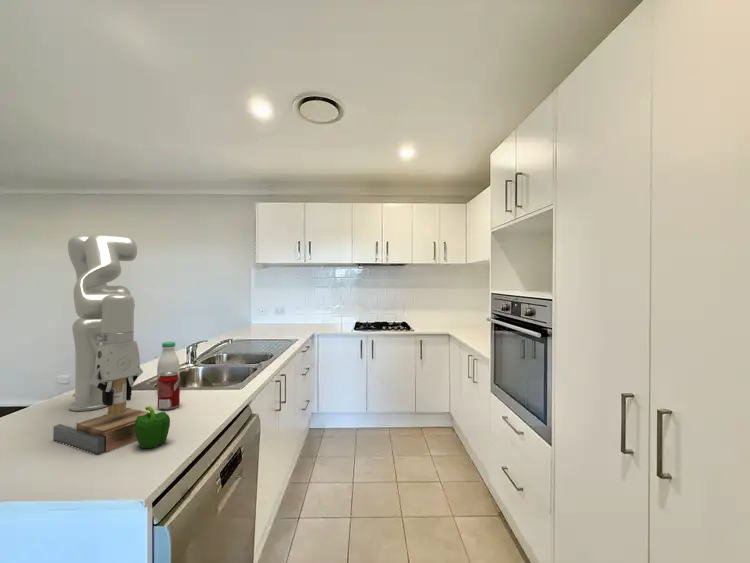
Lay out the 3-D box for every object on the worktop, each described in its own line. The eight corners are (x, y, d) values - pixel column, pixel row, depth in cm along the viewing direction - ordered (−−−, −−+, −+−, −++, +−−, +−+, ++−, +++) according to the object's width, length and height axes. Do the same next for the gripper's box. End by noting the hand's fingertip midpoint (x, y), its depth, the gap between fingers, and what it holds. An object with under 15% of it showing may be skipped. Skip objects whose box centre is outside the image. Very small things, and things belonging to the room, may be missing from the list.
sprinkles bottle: (103, 416, 104) (104, 368, 104) (112, 411, 108) (112, 364, 108) (122, 415, 104) (122, 367, 104) (129, 410, 109) (130, 364, 109)
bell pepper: (173, 445, 101) (173, 408, 101) (137, 454, 96) (138, 415, 96) (165, 435, 108) (166, 400, 108) (131, 443, 102) (132, 406, 102)
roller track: (53, 440, 103) (53, 422, 103) (120, 419, 120) (120, 403, 120) (98, 455, 95) (98, 435, 95) (163, 429, 111) (163, 413, 111)
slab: (76, 432, 102) (76, 423, 102) (128, 415, 115) (128, 408, 115) (103, 440, 97) (103, 431, 97) (154, 422, 110) (154, 413, 110)
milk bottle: (183, 391, 151) (184, 341, 151) (167, 396, 143) (167, 344, 143) (169, 389, 153) (169, 340, 153) (152, 394, 146) (152, 343, 146)
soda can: (169, 411, 127) (170, 376, 127) (152, 410, 128) (153, 375, 128) (183, 405, 134) (184, 371, 134) (167, 403, 135) (167, 370, 135)
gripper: (93, 343, 97) (92, 413, 97) (154, 335, 112) (154, 396, 112) (76, 341, 100) (75, 409, 100) (138, 333, 115) (137, 392, 116)
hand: (117, 401), depth 106 cm, fingers closed on sprinkles bottle, 4 cm apart
